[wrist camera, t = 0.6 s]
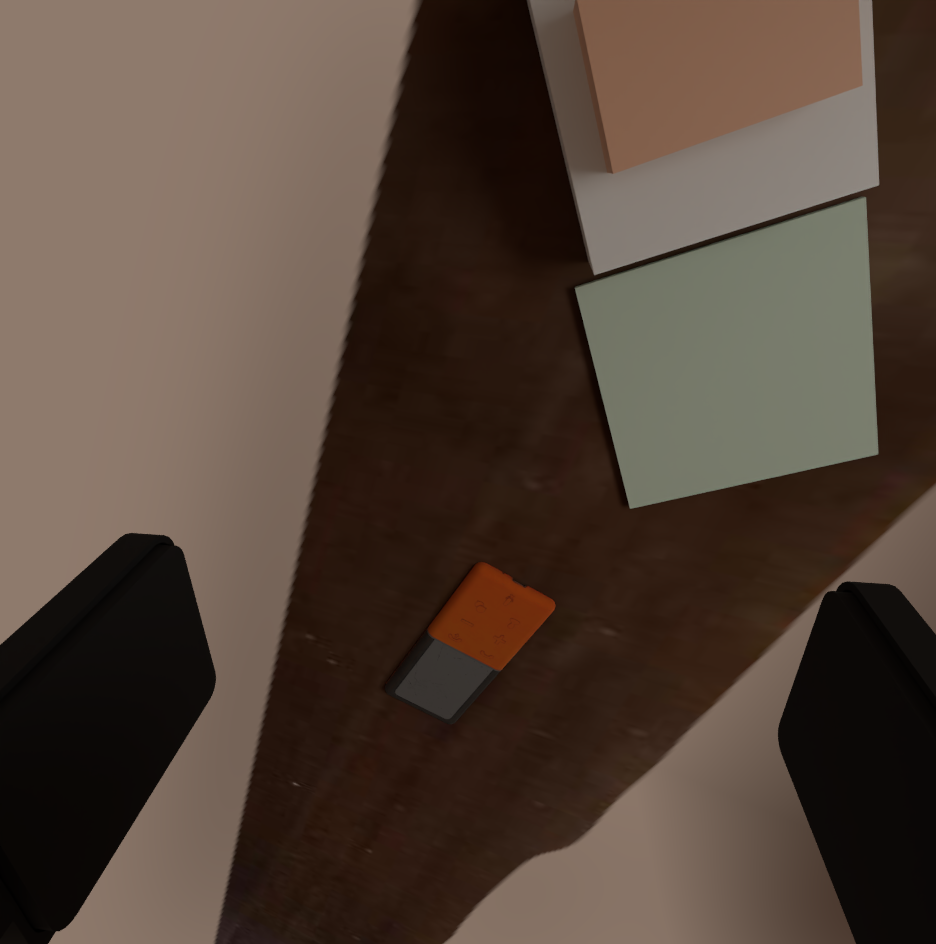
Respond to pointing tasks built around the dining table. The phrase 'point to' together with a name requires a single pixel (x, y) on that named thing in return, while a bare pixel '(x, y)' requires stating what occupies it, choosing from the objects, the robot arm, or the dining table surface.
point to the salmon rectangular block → (708, 67)
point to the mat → (738, 357)
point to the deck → (702, 158)
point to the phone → (468, 643)
